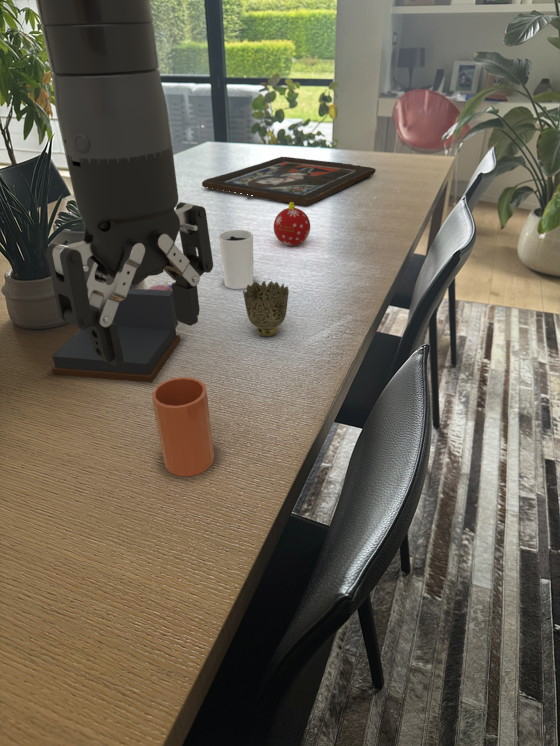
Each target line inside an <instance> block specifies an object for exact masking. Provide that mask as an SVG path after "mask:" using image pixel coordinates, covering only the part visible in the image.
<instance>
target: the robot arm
mask: <svg viewBox="0 0 560 746" xmlns="http://www.w3.org/2000/svg"><path fill="white" fill-rule="evenodd" d="M35 4H36V9H37V14H38V17H39V23H40V26H41V27H40V28H41V32H42V38H43V41H44V45H45V46H44V47H45V50H46V55H47V60H48V65H49V71H50V72H51V79H52V86H53V94H54V95H53V96H54V97H53V98H54V108H55V114H56V119H57V124H58V128H59V133H60V137H61V143H62V147H63V151H64V155H65V160H66V166H67V169H68V174H69V178H70V184H71V188H72V192H73V195H74V200H75V201H74V202H75V206H76V210H77V212H78V214H79V216H80V218H81V220H82V223H83V227H84V230H83V237H82V241H78V242H73V243H70V244H65V245H64V244H59V243H56V242H52V243H49V244H48V246H47V247H46V251H45V252H46V253H45V254H46V258H47V262H48V267H49V273H50V278H51V282H52V287H53V293H54V299H55V303H56V307H57V312H58V317H59V319H60V320H62V321H63V322H66V323H69V324H71V325H74V326H76V327H77V328H79V329H87V328H89V333H90V337H91V341H92V345H93V349H94V353H95V355H96V356H97V357H98V358H100V359H102V360H104V361H105V362H107V363H109V364H111V365H113V366H117V365H119V364H121V363H123V362H124V358H123V353H122V349H121V344H120V339H119V334H118V329H117V324H116V323H113V319H114V317H115V314H116V311H117V308H118V306H119V303H120V302H121V301H123V300H124V299H125V298H126V297H127V294H128V291H129V288H131V286H132V285H133V286H135V285H136V284H139V283H142V282H143V281H144V280H146V279H147V278H148V277H153V276H158V275H161V274H163V273H164V272H165V273H166V274H167V275H168V276H169V277H170V278H171V279H172V280H173V281H174V282H172V283H171V285H172V292H173V299H174V306H175V313H176V318H177V320H178V323H181V324H184V325H187V326H189V327H192V326H193V325H196V324H197V323H198V322H199V317H198V316H199V315H200V300H199V291H198V285H199V283H200V281H201V276H203V275H204V273H206V274H208V273H209V274H210V273H211V272H212V271H213V269H214V261H213V251H212V245H211V241H210V240H211V239H210V232H209V231H210V230H209V225H208V218H207V211H206V209H205V207H204V206H201V205H197V204H191V203H187V202H184V201H183V202H182V201H180V202H179V192H178V184H177V176H176V175H177V174H176V167H175V159H174V150H173V141H172V134H171V125H170V118H169V110H168V103H167V99H166V95H165V92H164V87H163V84H162V80H161V79H162V78H161V73H160V69H159V60H158V51H157V44H156V43H157V42H156V36H155V35H156V34H155V27H154V18H153V11H152V5H151V0H35ZM178 234H179V237H180V242H181V243H180V244H181V249H182V251H181V249H180V248H179V247H178V246H177V245H176V244H175V243H176V240H177V237H178ZM89 259H91V260H92V261H93V263H92V264H93V265H92V267H91V269H90V266H89V265H88V261H89ZM89 270H90V273H89V275H88V279H86V275H85V273H88V272H89ZM108 276H109V277H111V278H112V279H113V282H112V283H110V284H108V283H107V278H108ZM86 280H87V281H86ZM87 287H88V292H87ZM102 300H103V301H102ZM101 303H102V304H101Z"/></svg>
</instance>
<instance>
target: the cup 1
mask: <svg viewBox="0 0 560 746" xmlns="http://www.w3.org/2000/svg"><path fill="white" fill-rule="evenodd" d="M151 399H152V405H153V410H154V417H155V421H156V422H155V423H156V427H157V433H158V437H159V438H158V439H159V443H160V449H161V454H162V461H163V464H164V467H165V469H166V470H167V471H168V472H169V473H170V474H172V475H174V476H178V477H193V476H198V475H200V474H202V473H204V472H206V471H207V470H208V469H209V468H210V467H211V466H212V465H213V463H214V460H215V451H214V443H213V434H212V425H211V417H210V408H209V399H208V392H207V386H206V384H205V383H204V382H203V381H202V380H200V379H198V378H194V377H186V376H182V377H181V376H180V377H173V378H170V379H167V380H164V381H162V382H161V383H159V384H157V385H156V386H155V388H154V389H153V390H152V392H151Z"/></svg>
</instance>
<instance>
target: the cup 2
mask: <svg viewBox="0 0 560 746" xmlns="http://www.w3.org/2000/svg"><path fill="white" fill-rule="evenodd" d="M289 292H290V291H289V286H285V284H284V283H282V284H281V285H280V284H279V282H278V281H276V282H275V283H274V282H273V281H272V280H271V281H269V283H268V284H266V281H264V280H263V282H262V283H261V284H259V283H258V282H257V281H253V284H252V285H251V286H250V285H247V288H246V291H245V290H242V293H243V294H242V295H243V299H244V305H245V309H246V314H247V318H248V320H249V321H250V323H251V324H252V325H253V326H254V327H256V332H257V333H258V335H260V336H262V337H272V336H275V335H276V334H277V333H278V331H279V326H280V325H282V323H284V321H285V318H286V315H287V309H288V301H289V300H288V299H289Z"/></svg>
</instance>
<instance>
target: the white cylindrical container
mask: <svg viewBox="0 0 560 746" xmlns="http://www.w3.org/2000/svg"><path fill="white" fill-rule="evenodd" d="M218 242H219V250H220V257H221V265H222V273H223V279H224V280H223V281H224V286H225V287H226V288H229V289H231V290H232V289H233V290H244V289H247V285H250V286H251V285H252V284H253V283H254V234H253V233H252V232H251V231H249V230H245V229H231V230H230V229H229V230H226V231H223V232H221V233H219V235H218Z"/></svg>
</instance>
